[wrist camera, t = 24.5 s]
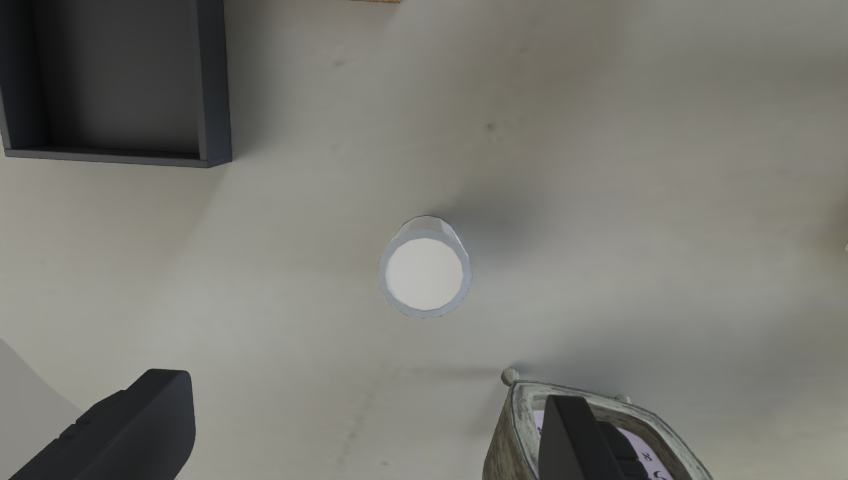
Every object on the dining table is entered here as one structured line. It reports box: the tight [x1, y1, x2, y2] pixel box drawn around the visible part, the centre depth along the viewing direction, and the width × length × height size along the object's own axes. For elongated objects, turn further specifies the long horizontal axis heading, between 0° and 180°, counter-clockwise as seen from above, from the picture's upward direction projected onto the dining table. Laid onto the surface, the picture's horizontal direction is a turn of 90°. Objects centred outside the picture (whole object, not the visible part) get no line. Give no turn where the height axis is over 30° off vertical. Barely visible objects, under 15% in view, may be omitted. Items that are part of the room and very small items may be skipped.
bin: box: [0, 0, 232, 168], centre depth 35 cm, size 15×15×4 cm
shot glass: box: [377, 216, 472, 319], centre depth 38 cm, size 7×7×7 cm
